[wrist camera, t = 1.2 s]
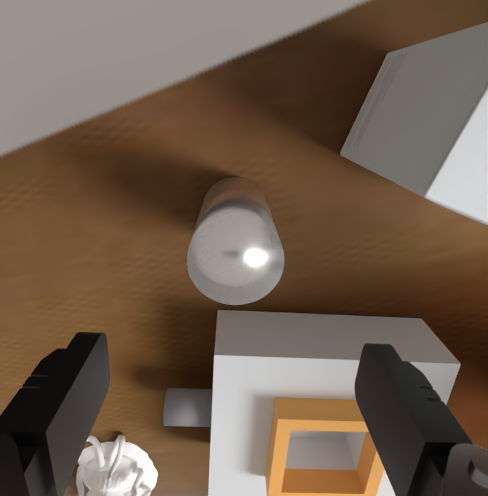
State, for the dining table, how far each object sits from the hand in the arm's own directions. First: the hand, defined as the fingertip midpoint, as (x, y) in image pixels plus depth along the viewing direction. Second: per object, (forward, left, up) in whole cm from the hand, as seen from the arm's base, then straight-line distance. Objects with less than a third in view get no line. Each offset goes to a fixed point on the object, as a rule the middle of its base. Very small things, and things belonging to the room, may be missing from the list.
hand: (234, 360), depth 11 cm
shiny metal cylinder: (0, 0, -18) cm, 18 cm away
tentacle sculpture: (+11, +30, -18) cm, 37 cm away
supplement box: (-12, -7, -18) cm, 23 cm away
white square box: (-8, +17, -18) cm, 26 cm away
